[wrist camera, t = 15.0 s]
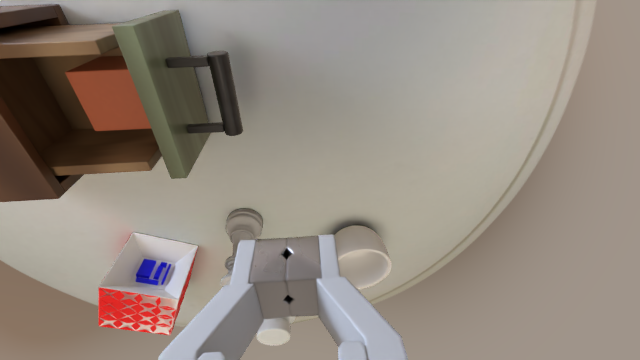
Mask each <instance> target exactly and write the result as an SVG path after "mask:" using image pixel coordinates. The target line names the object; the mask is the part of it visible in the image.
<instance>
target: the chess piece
mask: <svg viewBox="0 0 640 360" xmlns="http://www.w3.org/2000/svg"><path fill="white" fill-rule="evenodd" d="M262 226H263V220H262V218H261V216H260V215H259V214H258V213H257V212H255V211H253V210H250V209H238V210H235V211H233V212H232V213H231V214H230V215H229V216H228V218H227V224H226V232H227V234H228V235H229V237H230V240H231V242H232V243H233V255H232V256H231V257H229V258H228V259H227V260H226V262H225V267H226V268H227V269H228V274H227V275H226V276H224V277H223V278H222V279H221V286H222V287H223V286H224V285H230V281H231V276H232V271H233V267H234V262H235V258H236V253H237V248H238V244H239V242H240V241H241V240H256V239H257V238H258V237H259V236H260V234H261V231H262Z"/></svg>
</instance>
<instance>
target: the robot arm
mask: <svg viewBox="0 0 640 360" xmlns="http://www.w3.org/2000/svg"><path fill="white" fill-rule="evenodd" d="M314 315H318V316H319V318H320V320H321V321H322V323H323V324H324V326H325V327H326V329H327V330H328V332H329V333H330V335H331V336H332V338H333V339H334V341H335V343H336V344H337V346H338V347H339V348H338V360H408V358H407V354H406V351H405V348H404V344H403V340H402V337H401V335H400V334H399V333H398V332H397V331H396V330H395V329H394V328H393V327H392V326H391V325H390V324H389V323H388V322H387V321H386V319H385V318H384V317H383V316H382V315H381V314H380V313H379V312H378V311H377V310H376V309H375V308H374V307H373V306H372V304H371V303H370V302H369V301H368V300H367V299H366V298H365V297H364V296H363V295H362V294H361V293H360V292H359V291H358V289H357V288H356V287H355V286H354V285H353V284H352V283H351V282H350V281H349V280H348V279H347V278H346V277H341V275H340V268H339V261H338V254H337V247H336V240H335V236H334V234H332V235H319V236H318V235H317V236H304V237H290V238H276V239H257V240H241V241H240V242H239V244H238V248H237V253H236V258H235V262H234V267H233V271H232V276H231V281H230V285H224V286H223V288H222V289H221V290H220V291H219V292H218V293H217V294H216V295H215V296H214V297H213V298H212V299H211V300H210V301H209V303H208V304H207V305H206V306H205V307H204V308H203V309H202V310H201V311H200V312H199V313H198V314H197V315H196V316H195V318H194V319H193V320H192V321H191V322H190V323H189V324H188V325H187V326H186V327H185V328H184V329H183V330H182V331H181V332H180V334H179V335H178V336H177V337H176V338H175V339H174V340H173V341H172V342H171V343H170V344H169V345H168V346H167V347H166V349H165V350H164V351H163V352H162V353H161V354H160V356H159V358H158V360H240V358H241V357H242V355H243V353H244V352H245V350H246V349H247V347H248V346H249V344H250V342H251V341H252V339H253V337H254V336H255V334H256V333H257V331H258V330H259V328H260V326H261V325H262V323H263V322H264V320H263V319H272V318H282V317H293V316H314Z"/></svg>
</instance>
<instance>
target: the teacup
mask: <svg viewBox="0 0 640 360" xmlns="http://www.w3.org/2000/svg"><path fill="white" fill-rule="evenodd" d="M334 236H335V240H336V247H337V254H338V261H339V268H340V275H341V277H346V278H347V279H348V280H349V281H350V282H351V283H352V284H353V285H354V286H355V287H356V288H357V289H364V288H368V287H371V286H374V285H376V284H378V283H379V282H381V281H382V280H383V279H385V278H386V277H387V275H388V274H389V272H390V270H391V266H392V264H391V260H390V257H389V254H388V252H387V249H386V247H385V245H384V243H383V241H382V239H381V238H380V237H379V235H378V234H377V233H376V232H374V231H373V230H371V229H370V228H367V227H365V226H359V225H354V226H348V227H345V228H343V229H341V230H340V231H338V232H337V233H336V234H335V235H334Z"/></svg>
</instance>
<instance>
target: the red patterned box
mask: <svg viewBox="0 0 640 360" xmlns="http://www.w3.org/2000/svg"><path fill="white" fill-rule="evenodd" d="M197 249H198V246H197V245H192V244H188V243H183V242H178V241H173V240H169V239H164V238H159V237H154V236H149V235H145V234H140V233H135V232H133V233H132V234H131V236H130V237H129V239H128V240H127V242H126V244H125V246H124V247H123V249H122V250H121V252H120V254H119V255H118V257H117V258H116V260H115V261H114V263H113V265H112V266H111V268H110V269H109V271H108V272H107V274H106V276H105V277H104V279H103V280H102V282H101V284H100V285H99V287H98V298H99V326H102V327H110V328H117V329H125V330H133V331H141V332H149V333H156V334H164V335H170V334H171V332H172V330H173V327H174V326H173V325H174V324H175V320H176V318H177V315H178V313H179V310H180V305H181V303H182V301H183V298H184V295H185V292H186V289H187V287H188V284H189V280H190V276H191V272H192V268H193V264H194V260H195V256H196V253H197Z"/></svg>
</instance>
